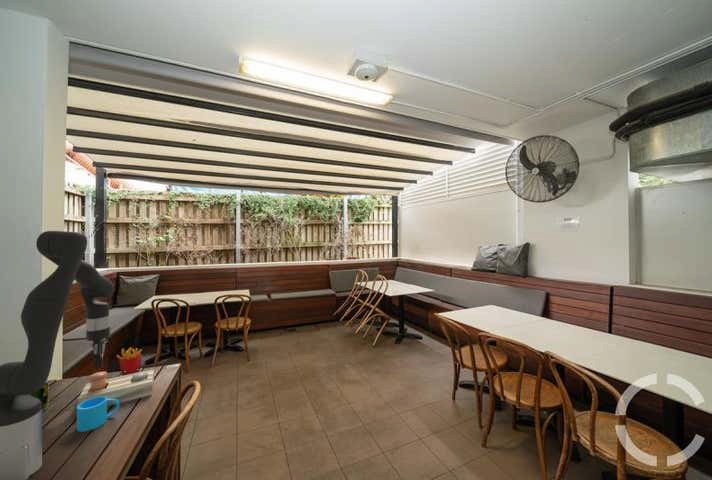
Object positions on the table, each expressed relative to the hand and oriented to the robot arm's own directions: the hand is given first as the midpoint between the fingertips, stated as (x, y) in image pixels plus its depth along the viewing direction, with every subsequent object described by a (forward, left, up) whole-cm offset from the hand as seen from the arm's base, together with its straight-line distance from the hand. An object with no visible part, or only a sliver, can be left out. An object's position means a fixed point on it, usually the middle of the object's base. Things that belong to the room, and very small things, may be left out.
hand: (98, 366), depth 118 cm
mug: (-18, -3, -15) cm, 24 cm away
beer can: (+6, +19, -15) cm, 25 cm away
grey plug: (0, -14, -14) cm, 20 cm away
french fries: (+19, -9, -15) cm, 26 cm away
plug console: (0, -7, -15) cm, 16 cm away
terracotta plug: (0, 0, -10) cm, 10 cm away
